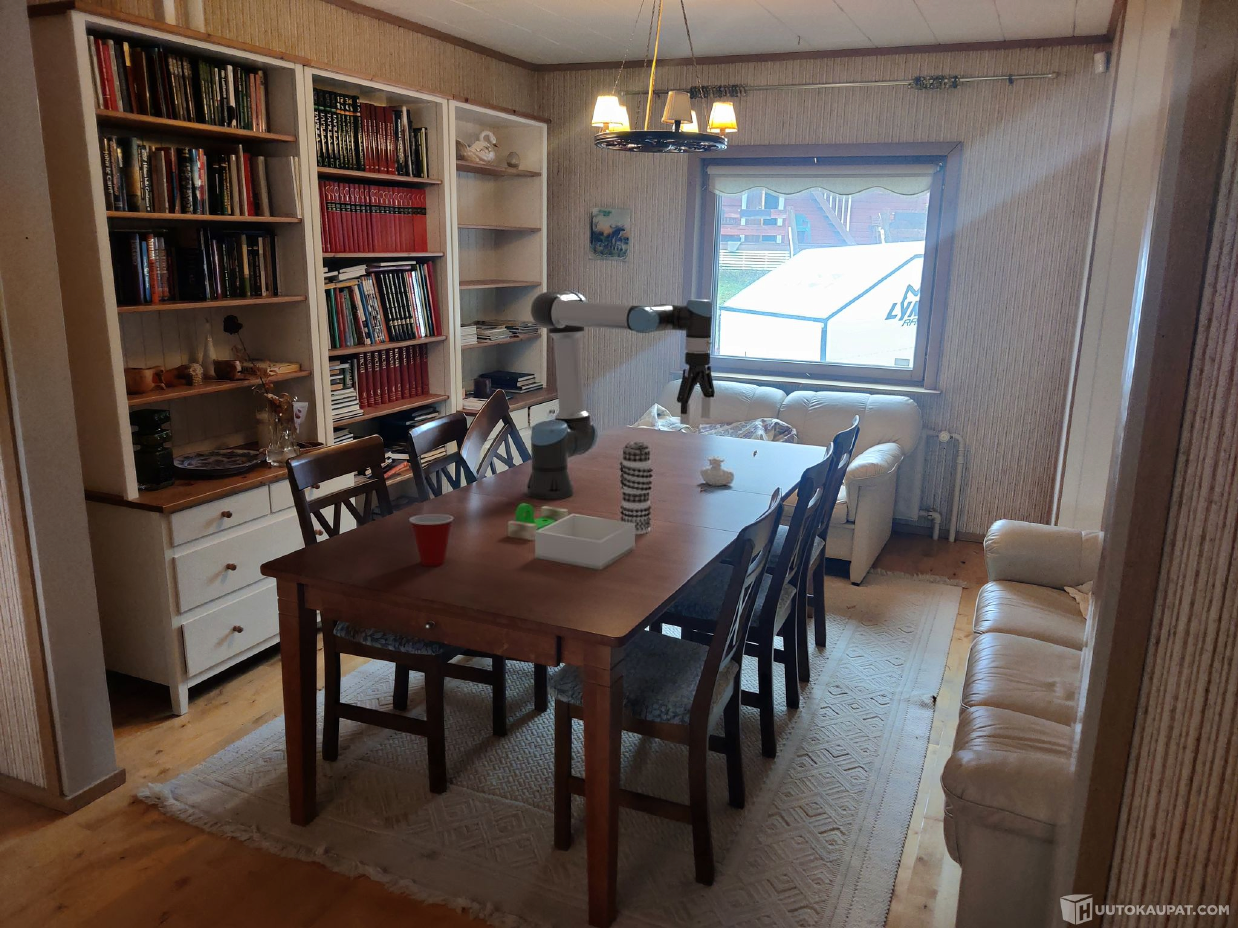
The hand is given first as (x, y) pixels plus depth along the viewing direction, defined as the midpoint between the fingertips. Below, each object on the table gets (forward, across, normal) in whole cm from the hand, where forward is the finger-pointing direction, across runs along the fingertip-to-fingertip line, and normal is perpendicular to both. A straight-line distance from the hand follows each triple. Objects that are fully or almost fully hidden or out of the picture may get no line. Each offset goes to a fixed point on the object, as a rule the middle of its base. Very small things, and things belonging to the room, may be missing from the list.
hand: (695, 421), depth 275 cm
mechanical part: (+27, -47, +25) cm, 60 cm away
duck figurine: (+27, +28, +6) cm, 39 cm away
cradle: (+27, -47, +24) cm, 59 cm away
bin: (+27, -57, +1) cm, 63 cm away
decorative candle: (+27, -32, +1) cm, 42 cm away
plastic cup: (+27, -84, +29) cm, 93 cm away
